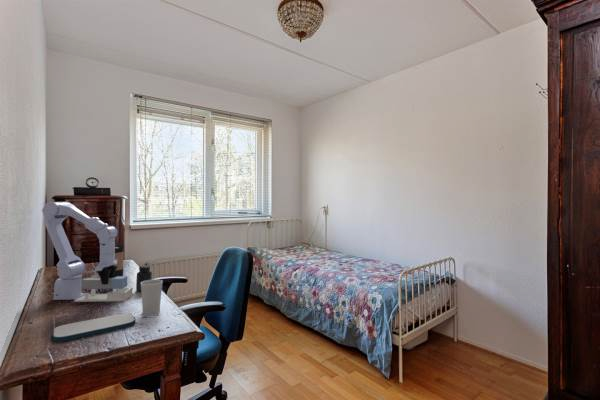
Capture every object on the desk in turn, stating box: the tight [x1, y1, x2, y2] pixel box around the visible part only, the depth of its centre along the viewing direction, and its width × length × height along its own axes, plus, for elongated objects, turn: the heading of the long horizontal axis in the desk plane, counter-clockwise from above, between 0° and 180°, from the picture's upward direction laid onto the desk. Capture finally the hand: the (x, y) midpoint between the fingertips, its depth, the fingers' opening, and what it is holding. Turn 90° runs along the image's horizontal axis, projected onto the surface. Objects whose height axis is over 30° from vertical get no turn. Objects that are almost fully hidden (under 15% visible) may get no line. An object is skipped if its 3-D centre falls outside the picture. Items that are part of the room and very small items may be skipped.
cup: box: [140, 279, 164, 316], centre depth 123 cm, size 8×8×12 cm
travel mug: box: [113, 245, 125, 278], centre depth 157 cm, size 8×8×20 cm
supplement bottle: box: [135, 265, 153, 293], centre depth 150 cm, size 7×7×12 cm
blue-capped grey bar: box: [81, 275, 128, 290], centre depth 138 cm, size 18×4×4 cm, turn 96°
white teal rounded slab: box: [52, 312, 136, 343], centre depth 106 cm, size 24×12×2 cm, turn 129°
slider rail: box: [73, 287, 134, 303], centre depth 138 cm, size 21×9×4 cm, turn 96°
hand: (106, 283), depth 138 cm, fingers closed on blue-capped grey bar, 3 cm apart
